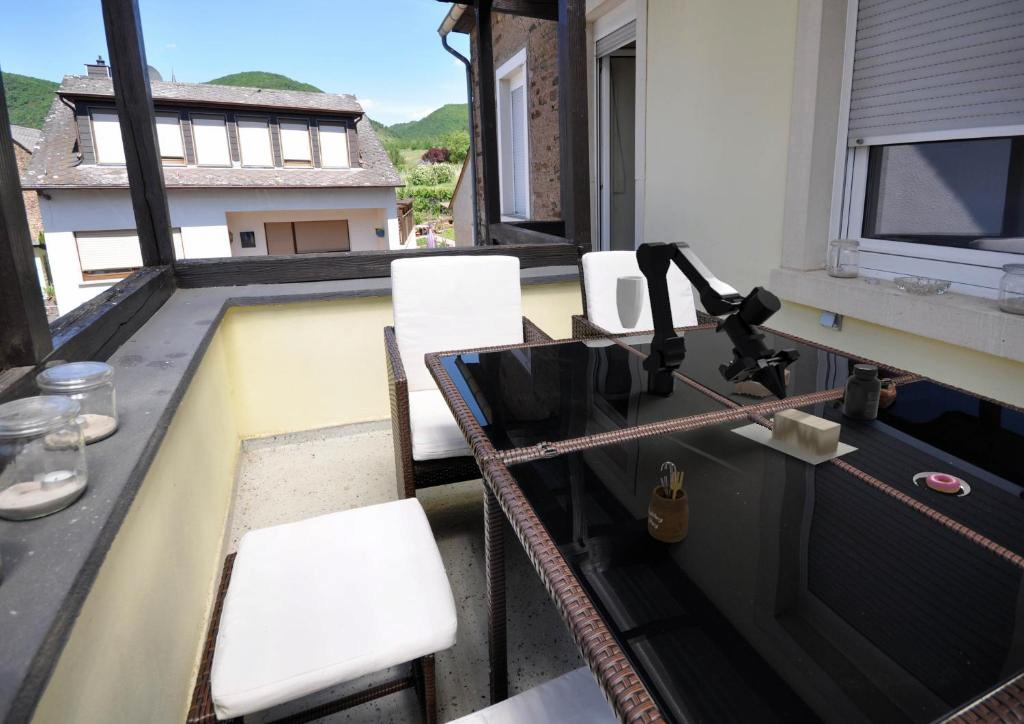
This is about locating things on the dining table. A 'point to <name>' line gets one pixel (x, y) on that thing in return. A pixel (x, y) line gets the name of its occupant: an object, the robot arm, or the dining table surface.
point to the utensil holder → (669, 511)
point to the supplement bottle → (862, 393)
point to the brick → (756, 387)
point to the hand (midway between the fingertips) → (783, 399)
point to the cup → (629, 299)
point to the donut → (943, 482)
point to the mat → (765, 437)
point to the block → (806, 431)
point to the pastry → (883, 395)
